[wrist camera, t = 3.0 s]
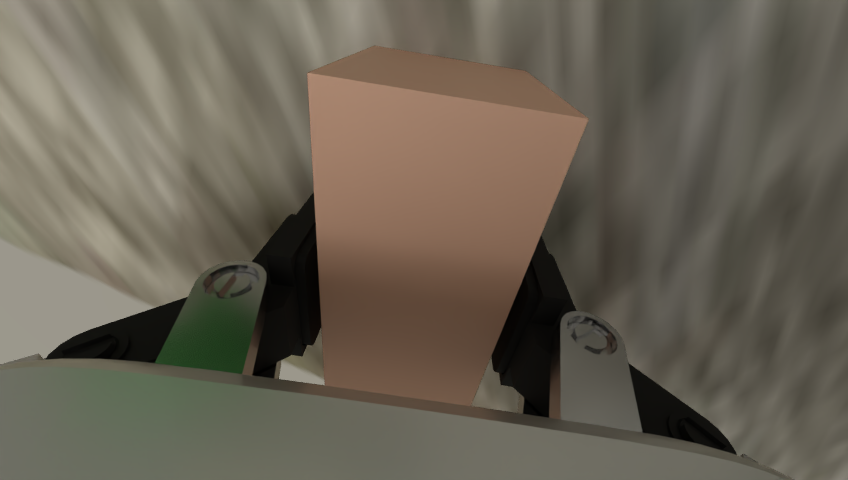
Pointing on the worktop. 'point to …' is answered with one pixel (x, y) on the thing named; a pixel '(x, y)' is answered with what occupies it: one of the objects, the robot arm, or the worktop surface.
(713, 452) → the robot arm
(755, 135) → the worktop surface
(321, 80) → the salmon pink rectangular block
